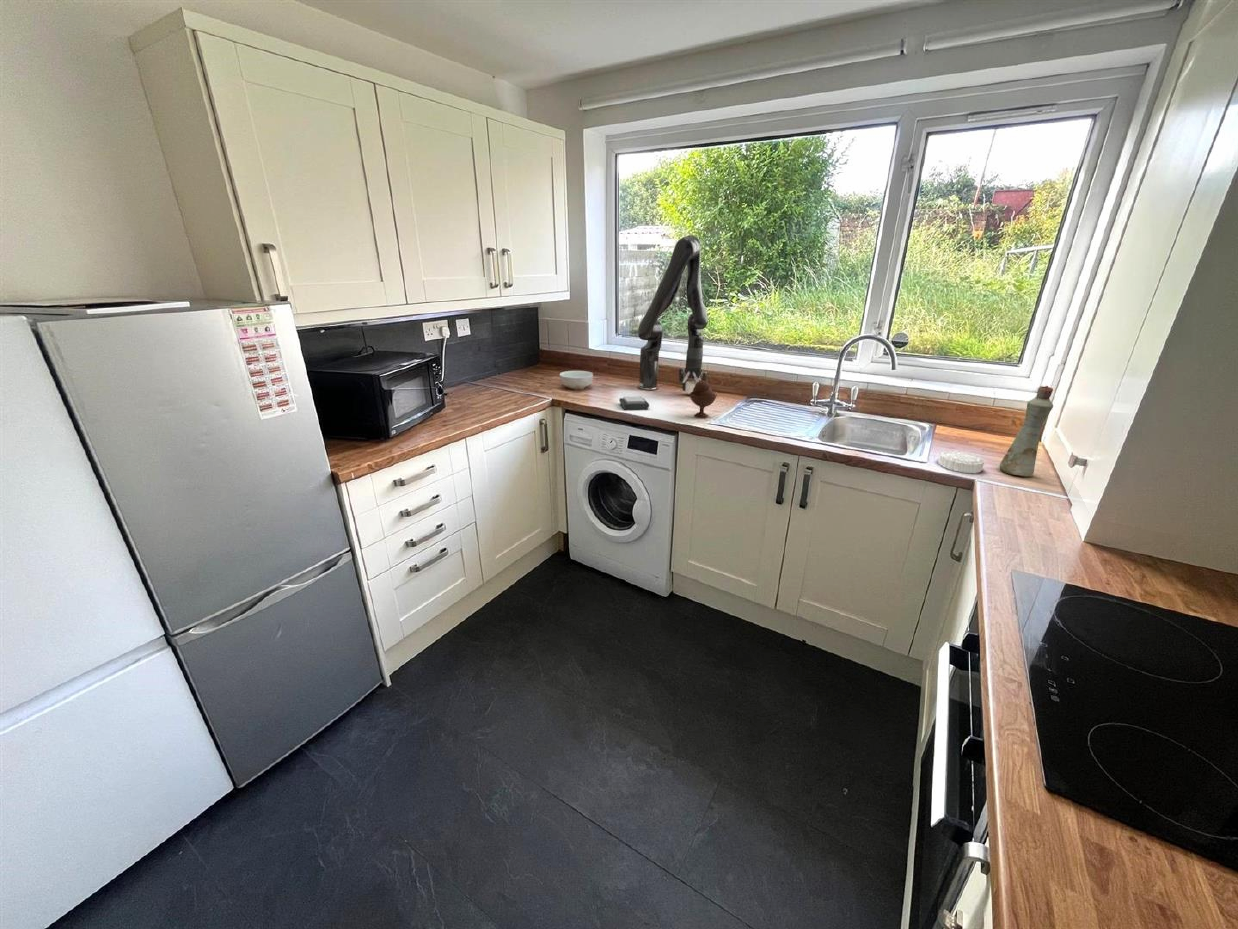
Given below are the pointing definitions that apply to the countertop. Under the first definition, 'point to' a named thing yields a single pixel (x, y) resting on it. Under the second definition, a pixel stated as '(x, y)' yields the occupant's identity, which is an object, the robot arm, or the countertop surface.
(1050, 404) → the bottle
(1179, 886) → the countertop surface
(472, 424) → the countertop surface
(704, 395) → the ice cream bowl
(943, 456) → the mooncake
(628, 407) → the scale
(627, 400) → the scale pan
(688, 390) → the white short cylinder
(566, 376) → the cereal bowl
